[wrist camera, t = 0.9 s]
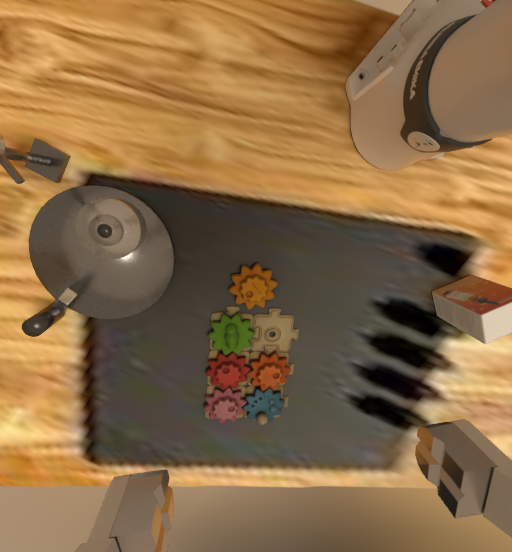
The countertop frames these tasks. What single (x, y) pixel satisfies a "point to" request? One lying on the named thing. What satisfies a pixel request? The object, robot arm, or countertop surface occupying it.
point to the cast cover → (110, 228)
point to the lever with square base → (35, 160)
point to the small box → (476, 307)
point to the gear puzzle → (249, 366)
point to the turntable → (95, 262)
